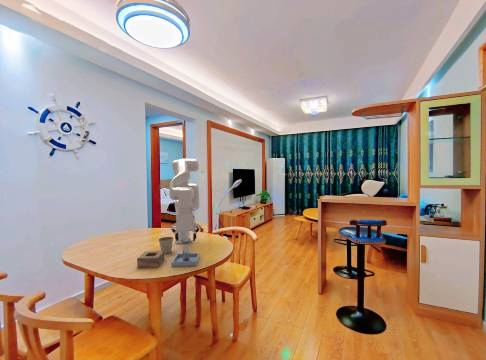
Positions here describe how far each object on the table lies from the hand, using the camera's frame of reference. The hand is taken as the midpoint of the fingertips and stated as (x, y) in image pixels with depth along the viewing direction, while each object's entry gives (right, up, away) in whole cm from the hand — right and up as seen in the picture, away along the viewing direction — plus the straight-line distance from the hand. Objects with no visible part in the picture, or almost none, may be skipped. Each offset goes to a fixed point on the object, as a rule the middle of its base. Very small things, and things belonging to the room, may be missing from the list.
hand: (185, 240), depth 129 cm
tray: (0, -12, 0) cm, 12 cm away
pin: (0, -11, 0) cm, 11 cm away
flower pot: (-16, -12, +16) cm, 26 cm away
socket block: (-19, -12, -2) cm, 22 cm away
